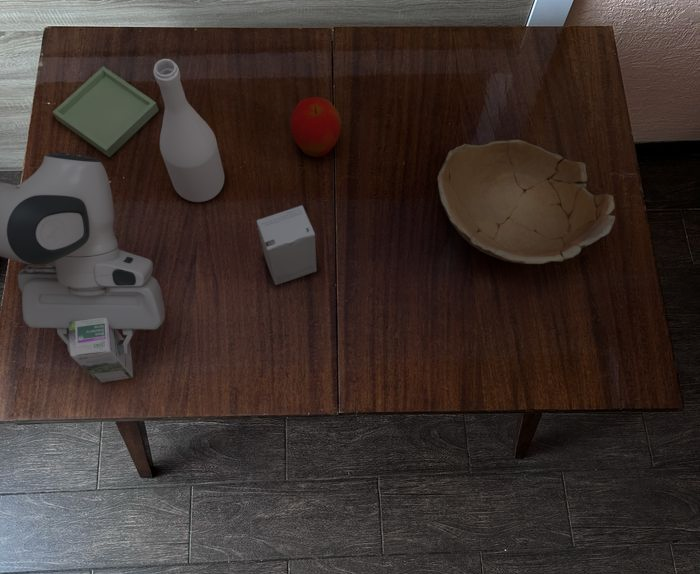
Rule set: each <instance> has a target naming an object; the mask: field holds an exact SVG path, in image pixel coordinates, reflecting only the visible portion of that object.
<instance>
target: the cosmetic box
mask: <svg viewBox="0 0 700 574" xmlns="http://www.w3.org/2000/svg"><path fill="white" fill-rule="evenodd" d="M256 226H257V231H258V234H259V239H260V241H261V247H262V252H263V256H264V260H265V263H266V265H267V268H268V270H269V274H270V276H271V278H272V281H273V284H274V285H275V286H278V285H281V284H283V283H286V282H290V281H293V280H296V279H298V278H303V277H304V276H307V275H309V274H313V273H317V272H318V268H317V253H316V251H317V250H316V233H315V230H314V228H313V226H312V224H311V221H310V218H309V217H308V214H307V212H306V210H305V208H304V206H303V205H299V206H295V207H292V208H290V209H287V210H286V209H285V210H283V211H281V212H278V213H274V214H271V215H268V216H265V217H263V218H259V219H256Z"/></svg>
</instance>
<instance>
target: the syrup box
mask: <svg viewBox="0 0 700 574" xmlns="http://www.w3.org/2000/svg"><path fill="white" fill-rule="evenodd" d="M120 340H125V338H124V337H123V336H122V335H121V333H120V332H119V331H118V329H110V326H109V323H108V320H107V318H96V319H88V320H80V321H73V322H69V342H70V354H69V356H70V357H71V358H72V359H73V360H74V361H75V362H76V363H77V364H78V365H79V366H80V367H82V368H83V369H84V370H85V371H86V372H87V373H88V374H89V375H90V376H91V377H92V378H93V379H94V380H95V381H97V382H98V383H99V384H103V383H109V382H115V381H121V380H123V381H124V380H131V379H133V378H134V371H133V369H134V368H133V359H132V358H133V357H132V347H131V346H130V352H129V354H118V349H117V344H118V343H119V341H120Z"/></svg>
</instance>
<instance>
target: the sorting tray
mask: <svg viewBox="0 0 700 574" xmlns="http://www.w3.org/2000/svg"><path fill="white" fill-rule="evenodd" d="M159 111H160V110H159V107H158V104H157V102H156V101H155V100H153V99H151V97H149V96H147V95H146V94H145V93H143V92H142V91H140V90H139V89H137V88H135V86H133V85H132V84H130V83H129V82H127V81H125V80H124V79H123V78H122V77H120V76H119V75H117V74H116V73H114V72H112V70H110V69H109V68H107V67H105V66H104V65H102V67H100V68H99V69H98V70H97V71H96V72H94V74H92V76H90V77H89V78H88V79H87V80H86V81H85V82H84V83H83V84H81V86H79V87H78V88H77V89H76V90H75V91H74V92H73V93H72V94H70V95H69V96H68V97H67V98H66V99H65V100H63V102H61V104H59V105H58V106H57V107H56V108H55V109H53V111H52V114H53V116H54V117H55V119H56V121H58V122H59V123H61V124H62V125H63V126H65V128H67V129H69V130H70V131H72V132H73V133H74V134H76V135H77V136H78V137H80V138H82V140H84V141H85V142H87V143H88V144H90V145H91V146H93V147H94V148H95V149H97V150H98V151H99V152H101V153H102V154H104V155H105V156H107V157H108V158H111V157H112V156H113V155H114V154H115V153H117V151H118V150H119V149H121V147H122V146H124V145H125V144H126V143H127V142H128V141H129V140H130V138H132V137H133V136H134V135H135V134H137V132H138V131H139V130H140V129H141V128H142V127H143V126H144V125H145V124H147V122H148V121H150V120H151V118H153V117H154V116H155V115H156V114H157V113H158V112H159Z"/></svg>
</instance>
